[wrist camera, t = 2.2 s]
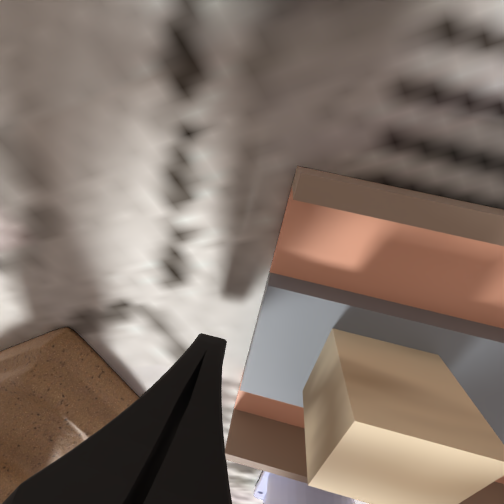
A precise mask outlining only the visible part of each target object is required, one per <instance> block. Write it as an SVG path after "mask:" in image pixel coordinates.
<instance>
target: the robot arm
mask: <svg viewBox="0 0 504 504" xmlns="http://www.w3.org/2000/svg"><path fill="white" fill-rule="evenodd" d="M226 343H227V341H226V340H225V339H221V338H217V337H214V336H210V335H206V334H202V333H201V334H199V335H198V337H197V338H196V339H195V341H194V342H193V343H192V344H191V346H190V347H189V348H188V349H187V350H186V352H185V353H184V354H183V355H182V356H181V357H180V358H179V359H178V360H177V362H176V363H175V364H174V365H173V366H172V367H171V368H170V369H169V370H168V371H167V372H166V373H165V374H164V375H163V376H162V377H161V378H160V379H159V380H158V381H157V382H156V383H155V384H154V385H153V386H152V387H151V388H149V389H148V390H147V391H146V392H145V393H144V394H143V395H142V396H141V397H139V398H138V399H137V400H136V401H135V402H134V403H132V404H131V405H130V406H129V407H128V408H126V409H125V410H124V411H123V412H121V413H120V414H119V415H118V416H117V417H115V418H114V419H113V420H112V421H110V422H109V423H108V424H106V425H105V426H104V427H102V428H101V429H100V430H98V431H97V432H96V433H94V434H93V435H91V436H90V437H89V438H87V439H86V440H85V441H83V442H82V443H80V444H79V445H78V446H76V447H75V448H73V449H72V450H71V451H69V452H68V453H66V454H65V455H63V456H62V457H60V458H59V459H57V460H56V461H54V462H53V463H51V464H50V465H48V466H47V467H45V468H43V469H42V470H40V471H39V472H37V473H36V474H34V475H33V476H31V477H30V478H28V479H27V480H25V481H24V482H22V483H21V484H20V485H19V486H18V487H17V488H16V489H15V490H14V491H13V492H12V493H11V494H10V496H9V497H8V498H7V499H6V500H5V501H4V502H3V503H2V504H232V500H231V494H230V487H229V480H228V472H227V464H226V456H225V447H224V437H223V424H222V402H221V382H222V364H223V359H224V354H225V348H226ZM254 497H256V498H258V499H261V500H263V504H355V502H354V499H352V498H349V497H345V496H342V495H339V494H335V493H332V492H328V491H325V490H322V489H318V488H315V487H311V486H308V484H307V483H304V482H300V481H297V480H293V479H290V478H287V477H283V476H280V475H276V474H273V473H270V472H266V471H263V472H262V475H261V477H260V479H259V481H258V483H257V485H256V487H255V489H254Z"/></svg>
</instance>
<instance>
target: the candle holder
mask: <svg viewBox="0 0 504 504" xmlns="http://www.w3.org/2000/svg"><path fill="white" fill-rule="evenodd" d="M138 398H139V397H138V396H137V395H136V394H135V393H134V391H133V390H132V389H131V388H130V387H129V386H128V385H127V384H126V383H125V382H124V381H123V380H122V379H121V378H120V377H119V376H118V375H117V374H116V373H115V372H114V371H113V370H112V369H111V368H110V367H109V366H108V365H107V364H106V362H105V361H104V360H103V359H102V358H101V357H100V356H99V355H98V354H97V353H96V352H95V351H94V350H93V349H92V348H91V347H90V346H89V345H88V344H87V343H86V342H85V341H84V340H83V339H82V338H81V337H80V336H79V335H78V334H77V333H76V332H75V331H73V330H72V329H70V328H68V327H64V328H61V329H57V330H54V331H51V332H49V333H46V334H44V335H41V336H38V337H36V338H33V339H31V340H28V341H26V342H23V343H21V344H18V345H16V346H13V347H10V348H8V349H5V350H3V351H1V352H0V504H2V503H3V502H4V501H5V500H6V499H7V498H8V497H9V496H10V494H11V493H12V492H13V491H14V490H15V489H16V488H17V487H18V486H19V485H20V484H21V483H22V482H24V481H25V480H27V479H28V478H30V477H31V476H33V475H34V474H36V473H37V472H39V471H40V470H42V469H43V468H45V467H47V466H48V465H50V464H51V463H53V462H54V461H56V460H57V459H59V458H60V457H62V456H63V455H65V454H66V453H68V452H69V451H71V450H72V449H73V448H75V447H76V446H78V445H79V444H80V443H82V442H83V441H85V440H86V439H87V438H89V437H90V436H91V435H93V434H94V433H96V432H97V431H98V430H100V429H101V428H102V427H104V426H105V425H106V424H108V423H109V422H110V421H112V420H113V419H114V418H115V417H117V416H118V415H119V414H120V413H121V412H123V411H124V410H125V409H126V408H128V407H129V406H130V405H131V404H132V403H134V402H135V401H136V400H137V399H138Z"/></svg>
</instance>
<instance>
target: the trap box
mask: <svg viewBox="0 0 504 504" xmlns="http://www.w3.org/2000/svg"><path fill="white" fill-rule="evenodd" d="M332 328H333V329H337V330H341V331H345V332H349V333H353V334H357V335H361V336H365V337H369V338H373V339H377V340H381V341H385V342H389V343H393V344H397V345H401V346H405V347H409V348H413V349H417V350H421V351H425V352H429V353H432V354H436V355H439V356H440V358H441V359H442V360H443V362H444V363H445V364H446V366H447V367H448V369H449V370H450V371H451V373H452V374H453V375H454V377H455V378H456V380H457V381H458V382H459V384H460V385H461V386H462V388H463V389H464V391H465V392H466V393H467V395H468V396H469V397H470V399H471V400H472V402H473V403H474V404H475V406H476V407H477V408H478V410H479V411H480V413H481V414H482V415H483V417H484V418H485V419H486V421H487V422H488V424H489V425H490V426H491V428H492V429H493V430H494V432H495V433H496V435H497V436H498V437H499V439H500V440H501V441H502V443H503V444H504V210H503V209H498V208H493V207H488V206H484V205H479V204H474V203H470V202H465V201H460V200H455V199H451V198H446V197H441V196H437V195H432V194H427V193H423V192H418V191H413V190H408V189H404V188H399V187H394V186H390V185H385V184H380V183H375V182H371V181H366V180H361V179H357V178H352V177H347V176H342V175H338V174H333V173H328V172H324V171H319V170H314V169H310V168H305V167H300V166H297V168H296V172H295V176H294V180H293V184H292V187H291V191H290V195H289V199H288V203H287V207H286V210H285V214H284V218H283V222H282V226H281V230H280V233H279V237H278V241H277V245H276V249H275V253H274V256H273V260H272V264H271V268H270V272H269V276H268V279H267V283H266V287H265V291H264V295H263V299H262V303H261V306H260V310H259V314H258V318H257V322H256V326H255V329H254V333H253V337H252V341H251V345H250V349H249V352H248V356H247V360H246V364H245V368H244V372H243V375H242V379H241V383H240V387H239V391H238V395H237V398H236V402H235V406H234V410H233V415H232V419H231V424H230V429H229V433H228V438H227V443H226V448H225V456H226V460H229V461H232V462H235V463H239V464H242V465H246V466H249V467H252V468H256V469H259V470H263V471H266V472H270V473H273V474H276V475H280V476H283V477H287V478H290V479H293V480H297V481H300V482H304V483H307V484H308V480H307V462H306V444H305V427H304V409H303V389H304V387H305V384H306V382H307V380H308V378H309V376H310V374H311V372H312V370H313V368H314V366H315V363H316V361H317V359H318V357H319V355H320V353H321V351H322V349H323V347H324V345H325V342H326V340H327V338H328V336H329V334H330V332H331V330H332ZM459 504H504V476H502V477H501V478H499V479H497V480H496V481H494V482H493V483H491V484H489V485H488V486H486V487H484V488H483V489H481V490H480V491H478V492H476V493H475V494H473V495H472V496H470V497H468V498H467V499H465V500H463V501H462V502H460V503H459Z"/></svg>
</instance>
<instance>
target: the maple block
mask: <svg viewBox="0 0 504 504" xmlns="http://www.w3.org/2000/svg"><path fill="white" fill-rule="evenodd" d="M303 409H304V427H305V444H306V462H307V480H308V486H311V487H315V488H318V489H322V490H325V491H328V492H332V493H335V494H339V495H342V496H345V497H349V498H352V499H356V500H359V501H362V502H366V503H369V504H459V503H460V502H462V501H463V500H465V499H467V498H468V497H470V496H472V495H473V494H475V493H476V492H478V491H480V490H481V489H483V488H484V487H486V486H488V485H489V484H491V483H493V482H494V481H496V480H497V479H499V478H501V477H502V476H504V444H503V443H502V441H501V440H500V439H499V437H498V436H497V435H496V433H495V432H494V430H493V429H492V428H491V426H490V425H489V424H488V422H487V421H486V419H485V418H484V417H483V415H482V414H481V413H480V411H479V410H478V408H477V407H476V406H475V404H474V403H473V402H472V400H471V399H470V397H469V396H468V395H467V393H466V392H465V391H464V389H463V388H462V386H461V385H460V384H459V382H458V381H457V380H456V378H455V377H454V375H453V374H452V373H451V371H450V370H449V369H448V367H447V366H446V364H445V363H444V362H443V360H442V359H441V358H440V356H439V355H436V354H432V353H429V352H425V351H421V350H417V349H413V348H409V347H405V346H401V345H397V344H393V343H389V342H385V341H381V340H377V339H373V338H369V337H365V336H361V335H357V334H353V333H349V332H345V331H341V330H337V329H333V328H332V330H331V332H330V334H329V336H328V338H327V340H326V342H325V345H324V347H323V349H322V351H321V353H320V355H319V357H318V359H317V361H316V363H315V366H314V368H313V370H312V372H311V374H310V376H309V378H308V380H307V382H306V384H305V387H304V389H303Z"/></svg>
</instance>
